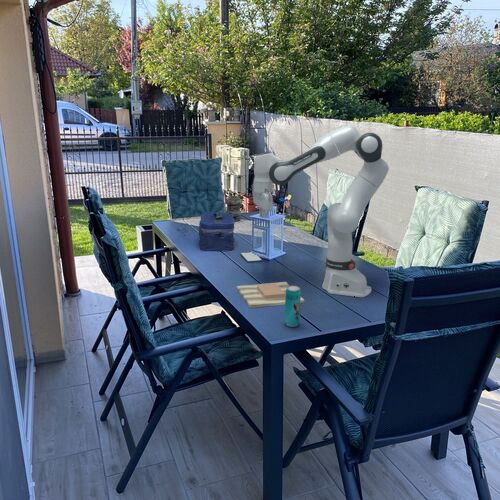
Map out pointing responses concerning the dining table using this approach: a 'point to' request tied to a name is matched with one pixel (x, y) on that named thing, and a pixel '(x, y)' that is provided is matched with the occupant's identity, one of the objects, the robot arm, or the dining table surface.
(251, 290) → the board
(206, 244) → the lunch bag
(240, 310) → the dining table surface
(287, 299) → the beverage can
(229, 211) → the apothecary jar
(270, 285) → the tile
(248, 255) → the phone case
